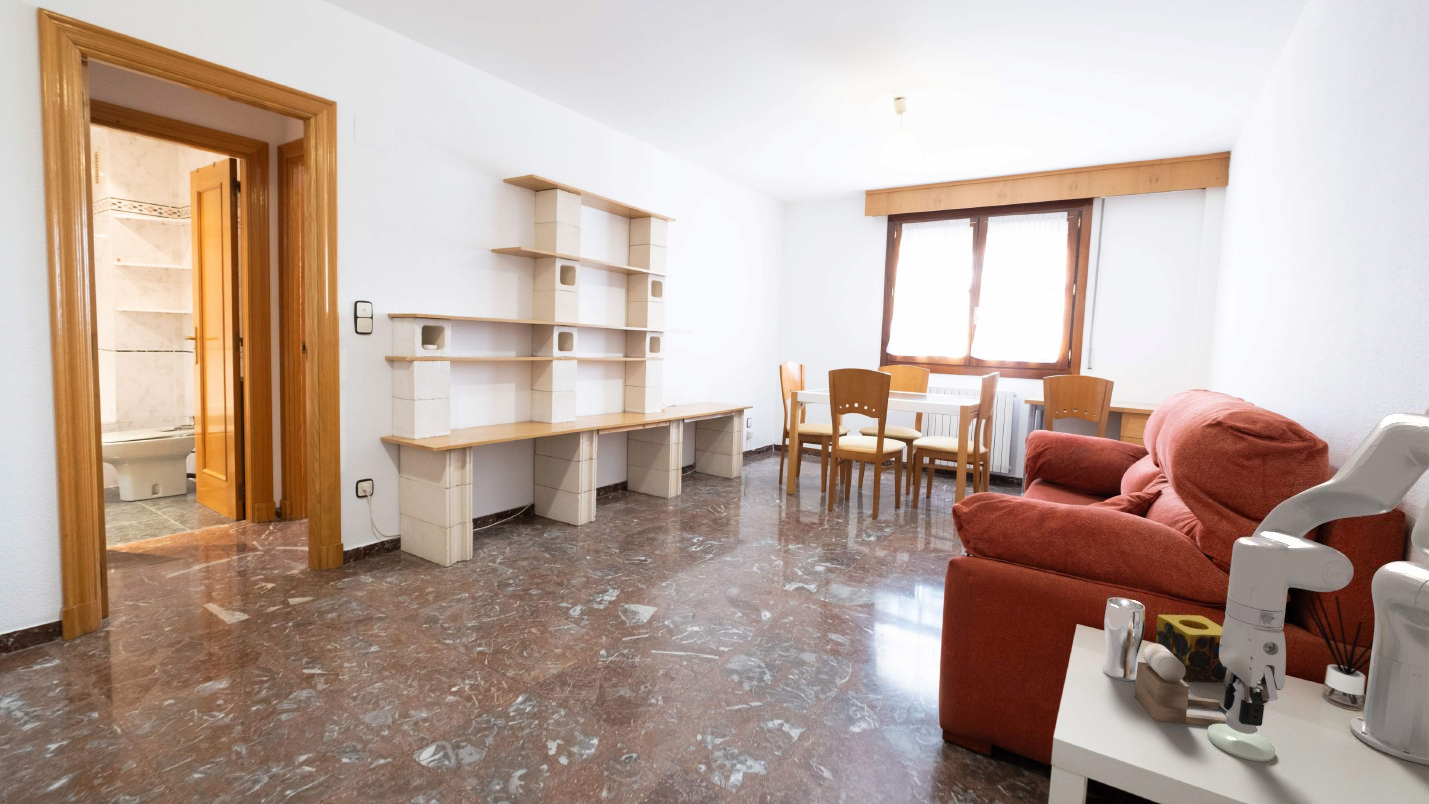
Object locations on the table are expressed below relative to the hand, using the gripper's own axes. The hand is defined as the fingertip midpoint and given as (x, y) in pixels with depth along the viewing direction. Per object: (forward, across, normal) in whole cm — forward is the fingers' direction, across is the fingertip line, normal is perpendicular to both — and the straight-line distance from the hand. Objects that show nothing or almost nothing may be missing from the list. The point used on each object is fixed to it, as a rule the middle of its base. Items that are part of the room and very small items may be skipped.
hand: (1242, 715), depth 112 cm
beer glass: (+5, +22, +10) cm, 25 cm away
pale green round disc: (+5, 0, 0) cm, 5 cm away
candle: (+5, +27, -6) cm, 28 cm away
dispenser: (+5, +9, +3) cm, 11 cm away
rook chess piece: (+2, 0, 0) cm, 2 cm away
